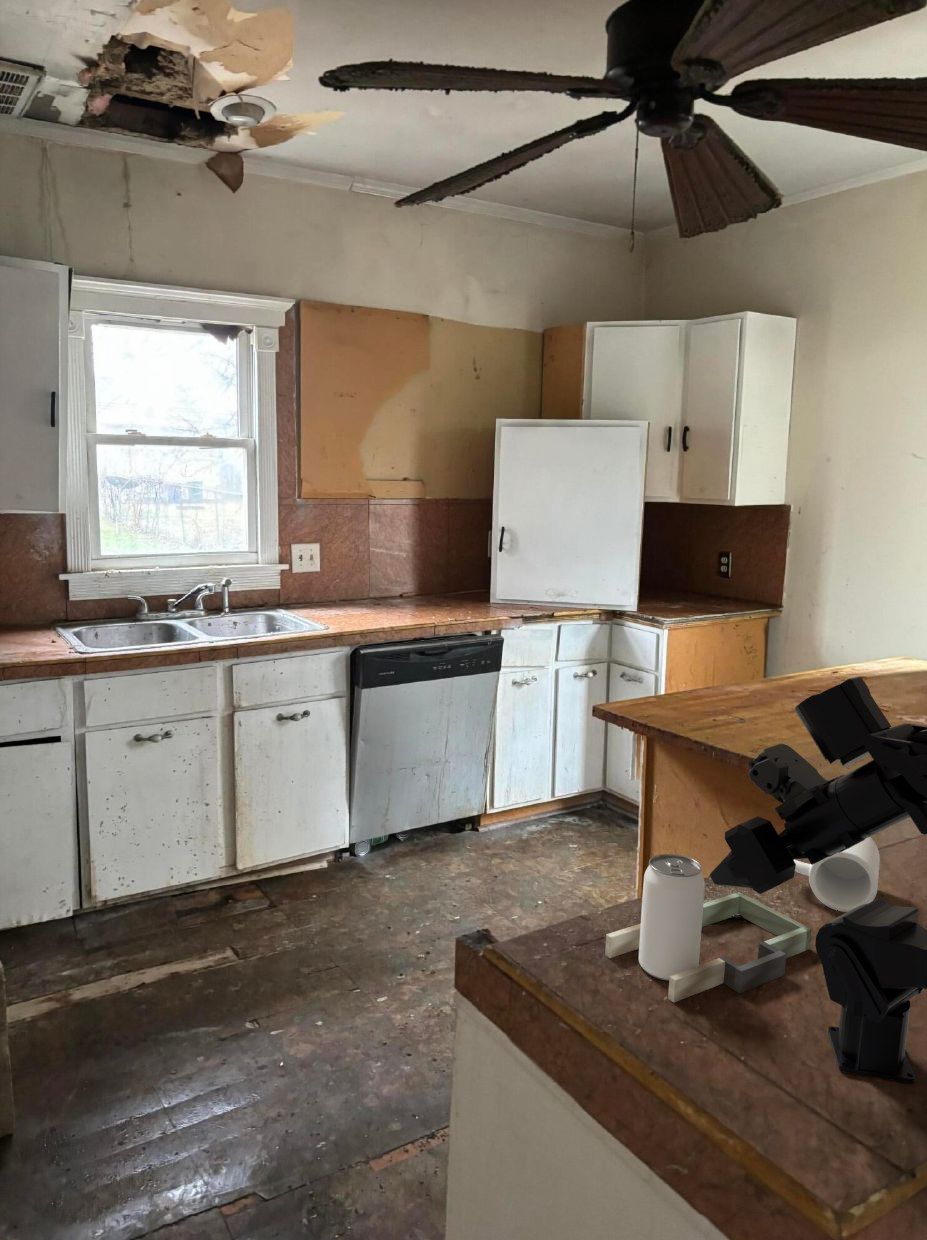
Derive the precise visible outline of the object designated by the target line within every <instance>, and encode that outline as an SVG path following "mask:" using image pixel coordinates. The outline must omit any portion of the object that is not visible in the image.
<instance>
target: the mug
mask: <svg viewBox="0 0 927 1240" xmlns="http://www.w3.org/2000/svg"><path fill="white" fill-rule="evenodd" d="M880 857H881V856H880V851H879V848H878V846H877V844H876V842H875V841H874V839H872V838H871V836H870V837H868V838H866V839H865V840H864V841H862V842H860V843H858V844H856V845H854V846H852V847H851V848H849V849H846V850H844V851H842V852H840V853H836V854H834V855H832V856H830V857H827V858H825V859H823V860H821V861H819V862H817V863H815V864H813V865H811V863H808V862H807V863H806V862H803V861H800V860H798V859H794V862H795V864H796V867H795V873H798V874H802V875H804V876H808V880H809V885H810V888H811V890H812V891H811V892H813V894H814V896H815V897H816V898H817V899H818V900H819V901H820V902H821V903H822V904H823V905H824V906H826V907H828V908H829V909H832V910H834V911H837V910H838V912H842V913H847V912H849V911H850V910H852V909H854V908H856V907H858V906H860V905H863V904H868V903H870V902H872V901H874V900H875V898H876V896H877V893H878V889H879V887H878V885H879V874H880Z"/></svg>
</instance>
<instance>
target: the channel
mask: <svg viewBox="0 0 927 1240" xmlns="http://www.w3.org/2000/svg"><path fill="white" fill-rule="evenodd" d="M641 913H642V910H641V912H640V914H641ZM736 914H740V915H742V916H743V917H744V918H743V917H742V918H743V919H745V920H747V921H749V922H751V923H752V924H754V925H757V926H758V927H760V928H762V929H763V930H766V931H768V932H769V933H771V934H773V935H775V937H773V938H770V939H767V940H764V941H761V942H759V943H758V953H757V959H755V960H752V961H750V962H747V963H745V964H741V965H740V964H738V963H737V962H735V961H733V960H732V959H730V958H728V957H727V956H721V957H719V958H715V959H713V960H711V961H708V962H705V963H702V964H699V965H698V966H697V967H694V968H691V969H689V970H686V971H683V972H681V973H678V974H675V975H672V976H670V978H669V981H668V992H667V993H668V995H667V999H668V1000H669V1001H670V1002H672V1003H673V1004H674V1003H677V1002H680V1001H681V1000H683V999H687V998H690V997H692V996H694V995H697V994H700V993H702V992H705V991H708V990H710V989H713V988H715V987H717V986H719V985H722V984H724V985H725V986H727V987H729V988H730V989H732V990H734V991H735V992H737V993H738V994H742V993H744V992H747V991H749V990H752V989H754V988H757V987H759V986H761V985H764V984H766V983H769V982H772V981H774V980H775V979H776V980H777V979H778V978H779V979H780V978H781V977H783V976H785V974H786V973H785V972H786V962H787V961H786V959H788V958H791V957H793V956H796V955H798V954H801V953H803V952H804V953H805V952H806V951H808V950H810V949H811V938H812V930H813V929H812V928H810V927H808V925H807V926H806V925H805V924H803V923H801V922H798V921H797V920H795V919H793V918H791V917H789V916H787V915H785V914H784V913H781V912H779V911H778V910H776V909H773V908H771V907H769V906H768V905H766V904H763V903H762V902H759V901H758V900H755V899H753V898H751V897H749V896H748V895H746V894H744V893H742V892H741V891H738V892H735V893H732V894H728V895H726V896H723V897H718V898H716V899H713V900H709V901H706V902H703V916H702V928H704V927H706V926H710V925H712V924H715V923H718V922H720V921H724V920H727V919H730V918H732V917H731V916H733V915H736ZM736 916H737V915H736ZM733 917H734V916H733ZM640 928H641V923H638V924H635V925H632V926H628V927H625V928H623V929H619V930H616V931H613V932H609V933H606V935H605V949H604V952H605V953H604V955H605V957H606V958H608V959H613V958H615V957H618V956H620V955H624V954H627V953H630V952H632V951H637V950H639V944H640Z"/></svg>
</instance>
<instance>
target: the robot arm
mask: <svg viewBox="0 0 927 1240" xmlns="http://www.w3.org/2000/svg"><path fill="white" fill-rule="evenodd" d="M794 711H795V713H796V715H797V716H798V718H799V719H800V721H801V723H802V724H803V726H804V728H805V729H806V731H807V733H808V734H809V736H810V738H812V740H813V742H814V744H815V746H817V749H818V750H819V752H820V753H821V756H823V759H824V760H825V761H826V762H828V763H829V764H830V765H831V764H832V765H833V764H835V763H836V762H838V761H839V763H840V764H841V766H842V768H843V767H847V766H850V765H851V764H855V763H856V762H859V761H860V760H862V759H865V758H866V757H869V756H870V757H871V758H872V760H871V761H869V762H866V763H865V764H863V765H861V766H859V767H857V768H856V769H854V770H852V771H850V772H849V773H848V772H847V774H845V775H843V776H841V777H839V776H837V777H834V778H832V779H829V780H828V781H827V780H826V779H825V778H824V777H823V776H822V774H820V773H819V771H818V770H817V768H816V767H814V766H813V765H812V764H811V763H810V762H808V760H806V759H805V758H804V757H803V756H802V755H800V754H799V752H797V751H796V750H795V749H794V748H792V746H790V745H788V744H785V743H779V744H776V745H775V744H774V745H771V746H769V747H767V748H763V750H762V751H761V753H760V754H758V755H757V757H756V758H754V759H750V761H748V767H749V771H748V773H747V775H748V778H749V780H750V781H751V782H752V783H753V784H754V785H755V786H756V787H757V788H758V789H759V790H761V791H762V792H763V793H764V794H765V795H770V796H771V797H772V798H774V800H776V801H777V802H779V803H781V804H780V805H778V806H776V807H775V808H774V810H775V812H776V813H777V815H778V816H779V819H781V820H782V821H785V822H784V823H783V826H784V830H782V831H781V832H780V833H778V832H777V830H776V828H775V827H774V825H773V823H772V822H771V821H770V820H768V819H766V818H763V817H762V816H756V817H753V818H750V819H747V820H746V821H742V822H741V823H739V824H736V825H735V826H733V827H731V828H730V829H728V830H726V831H724V840H725V843H726V844H727V846H728V847H729V849H730V851H729V852H728V854H727V855H726V856H725V857H724V858H723V859H722V860H721V862H719V863H718V864H717V866H716V867H715V868H714V869H713V870H712V871H711V872H710V874H709V876H710V879H711V880H712V883H713V884H714V885H717V886H720V885H721V886H730V887H738V888H739V887H740V888H746V889H751V890H753V891H754V892H756V893H758V894H759V895H762V894H763V893H765V892H768V891H770V890H772V889H775V888H776V887H778V886H780V885H782V884H784V883H786V882H788V881H789V880H792V879H793V878H795V874H796V871H795V867H796V864H795V862H794V859H795V860H800V859H801V860H802V859H807V860H808V861H809V864H811V865H813V864H815V863H817V862H819V861H821V860H823V859H825V858H827V857H830V856H832V855H834V854H836V853H840V852H842V851H844V850H846V849H849V848H851V847H852V846H854V845H856V844H858V843H860V842H862V841H864V840H865V839H866V838H868V837H870V838H871V836H873V835H876V834H878V833H880V832H882V831H884V830H886V829H888V828H891V827H893V826H895V825H896V824H897V825H898V824H899V823H900V822H903V821H905V820H907V819H909V818H910V819H911V820H912V822H913V824H914V826H915V827H916V828H917V830H918V831H919V833H920V834H921V835H927V725H923V724H921V725H920V724H914V723H907V722H906V723H902V724H897V725H895V726H892V725H891V723H890V722H889V719H888V718H886V716H885V714H884V713H883V711H882V710H881V708H880V707H879V705H878V703H877V702H876V700H875V699H874V697H873V696H872V693H871V692H870V688H869V686H868V685H867V683H866V681H865V680H864V678H863V677H861V676H854V677H850V678H847V679H846V680H844V681H843V682H842V683H839V684H837V685H834V686H832V687H830V688H828V689H826V690H824V691H822V692H820V693H817V694H812V695H810V696H809V697H807V698H805V699H804V700H803V701H800V703H799V704H797V705H796V706H795V707H794ZM918 917H919V909H918V908H917V907H913V906H899V905H893V904H890V903H889V902H885V901H884V900H882V899H881V898H876V899H874V900H873V901H872V902H870V903H868V904H863V905H860V906H858V907H856V908H854V909H852V910H850V911H849V912H844V913H843V914H842V915H841V914H840V916H838V917H836V918H834V919H832V920H831V921H828V922H826V923H825V924H823V926H821V927H820V928H819V929H818V931H817V933H816V935H815V944H814V945H815V951H816V955H817V957H818V959H819V962H820V964H821V967H822V970H823V974H824V979H825V984H826V986H827V988H826V989H827V993H828V996H829V1000H831V1002H833V1003H836V1004H838V1005H840V1006H841V1007H840V1017H839V1023H838V1024H839V1025H838V1026H834V1025H833V1026H831V1025H829V1026H828V1027H827V1033H828V1037H829V1041H830V1043H831V1047H832V1051H833V1054H834V1057H835V1061H836V1064H837V1068H838V1069H839V1070H840V1071H841V1072H843V1073H849V1074H855V1075H860V1076H865V1077H866V1076H867V1077H872V1078H879V1079H883V1080H890V1081H891V1080H892V1081H897V1082H901V1083H902V1082H903V1083H909V1084H914V1083H916V1080H917V1079H916V1078H917V1076H916V1074H915V1071H914V1069H913V1067H912V1064H911V1062H910V1059H909V1057H908V1055H907V1053H906V1048H907V1039H908V1037H907V1036H908V1030H909V1022H910V1014H911V1005H912V1004H911V1002H910V1000H911V999H912V998H914V997H916V995H919V994H921V993H923V991H924V990H927V929H926V928H924V927H923V926H922V925H921V924H920V923H919V922H918Z"/></svg>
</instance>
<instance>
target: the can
mask: <svg viewBox="0 0 927 1240" xmlns="http://www.w3.org/2000/svg"><path fill="white" fill-rule="evenodd" d="M702 871H703V867H702V865H701V863H700V862H699V861H697V860H695V859H693V858H691V857H689V856H684V855H681V854H675V853H663V854H657V855H654V856H652V857H651V858H649V861H648V866H647V868H646V870H645V871H644V875H643V885H642V886H643V887H642V900H641V911H642V913H641V912H640V924H641V928H640V944H639V949H638V963H639V965H640V966H641V968H642V970H643V971H644V972H646V973H647V975H649V976H651V977H653V978H654V979H655V978H656V979H658V980H661V981H666V982H669V978H670V976H672V975H675V974H678V973H681V972H683V971H686V970H689V969H691V968H694V967H697V966H699V965H700V964H699V962H700V954H701V953H700V952H701V942H702V941H701V939H702V938H701V937H702V928H703V927H702V916H703V903H705V902H704V900H705V899H704V898H705V879H704V875H703V874H702Z"/></svg>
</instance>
